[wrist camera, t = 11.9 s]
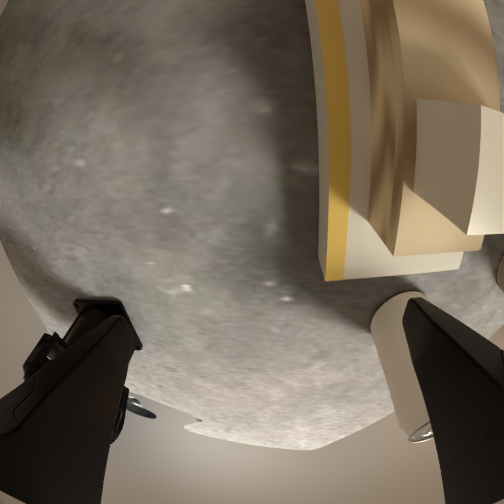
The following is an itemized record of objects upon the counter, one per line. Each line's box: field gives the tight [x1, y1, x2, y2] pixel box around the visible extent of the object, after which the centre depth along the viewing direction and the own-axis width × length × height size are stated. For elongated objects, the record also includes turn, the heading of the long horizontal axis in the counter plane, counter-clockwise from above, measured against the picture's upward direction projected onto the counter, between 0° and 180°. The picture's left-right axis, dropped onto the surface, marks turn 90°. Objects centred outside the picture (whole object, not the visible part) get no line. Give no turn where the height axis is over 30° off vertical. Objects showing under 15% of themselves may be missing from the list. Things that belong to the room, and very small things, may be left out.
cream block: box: [413, 99, 504, 235], centre depth 7 cm, size 5×4×4 cm
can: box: [370, 291, 434, 443], centre depth 17 cm, size 6×6×12 cm
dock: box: [305, 0, 464, 281], centre depth 10 cm, size 11×30×3 cm, turn 5°
